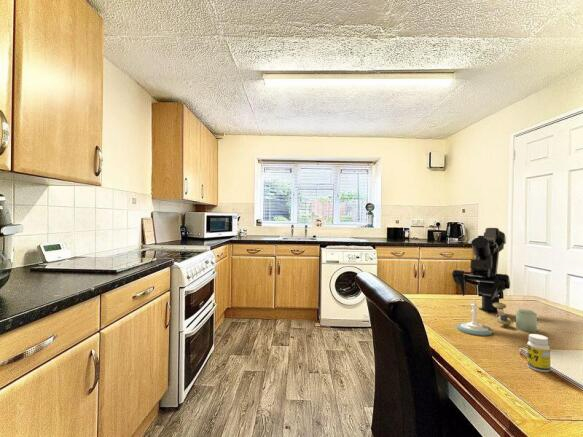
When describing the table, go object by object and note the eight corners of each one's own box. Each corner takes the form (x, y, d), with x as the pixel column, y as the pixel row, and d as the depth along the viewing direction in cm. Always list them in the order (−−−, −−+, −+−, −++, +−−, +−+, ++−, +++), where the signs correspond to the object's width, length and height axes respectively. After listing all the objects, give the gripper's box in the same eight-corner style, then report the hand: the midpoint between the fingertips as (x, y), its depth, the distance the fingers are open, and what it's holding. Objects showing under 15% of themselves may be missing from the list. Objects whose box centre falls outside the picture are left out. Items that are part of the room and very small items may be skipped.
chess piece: (483, 326, 111) (483, 298, 111) (481, 330, 107) (481, 301, 107) (467, 323, 114) (467, 296, 114) (465, 327, 110) (465, 299, 110)
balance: (492, 314, 129) (492, 301, 129) (505, 316, 127) (505, 303, 127) (497, 326, 114) (497, 311, 114) (512, 328, 112) (512, 313, 112)
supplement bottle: (522, 364, 83) (522, 333, 83) (538, 363, 84) (538, 332, 84) (538, 372, 78) (538, 340, 79) (555, 372, 79) (554, 339, 79)
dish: (450, 325, 115) (450, 322, 115) (477, 324, 116) (477, 321, 116) (471, 336, 104) (471, 332, 104) (500, 335, 105) (500, 331, 106)
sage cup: (512, 326, 114) (511, 308, 114) (526, 325, 115) (526, 308, 115) (526, 332, 108) (525, 313, 109) (541, 331, 109) (541, 312, 109)
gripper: (452, 250, 125) (445, 281, 117) (508, 252, 112) (504, 288, 104) (458, 266, 131) (451, 297, 122) (511, 271, 118) (508, 306, 110)
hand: (477, 297), depth 115 cm, fingers open, 9 cm apart
